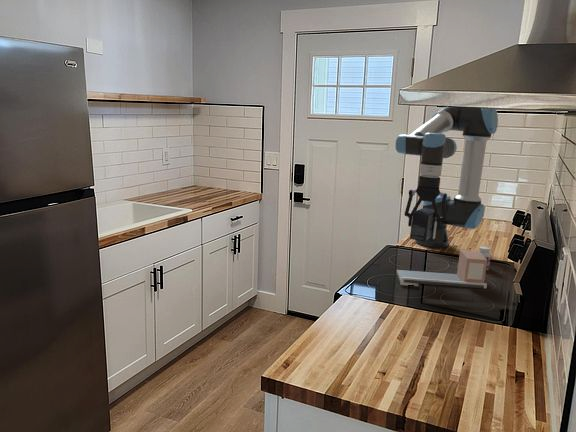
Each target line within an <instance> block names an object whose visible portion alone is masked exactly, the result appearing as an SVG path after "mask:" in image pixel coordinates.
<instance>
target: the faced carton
mask: <svg viewBox="0 0 576 432" xmlns="http://www.w3.org/2000/svg"><path fill="white" fill-rule="evenodd" d="M486 266H487V259H486V258H485V257H484V256H483V255H482V254H481V253H480V252H479V250H476V251H475V250H465V249H463V250H462V249H460V250H459V257H458V263H457V270H456V274H457V276H458V278H459V279H460V280H461V281H462V282H476V283H485V279H486V271H487V270H486Z"/></svg>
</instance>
